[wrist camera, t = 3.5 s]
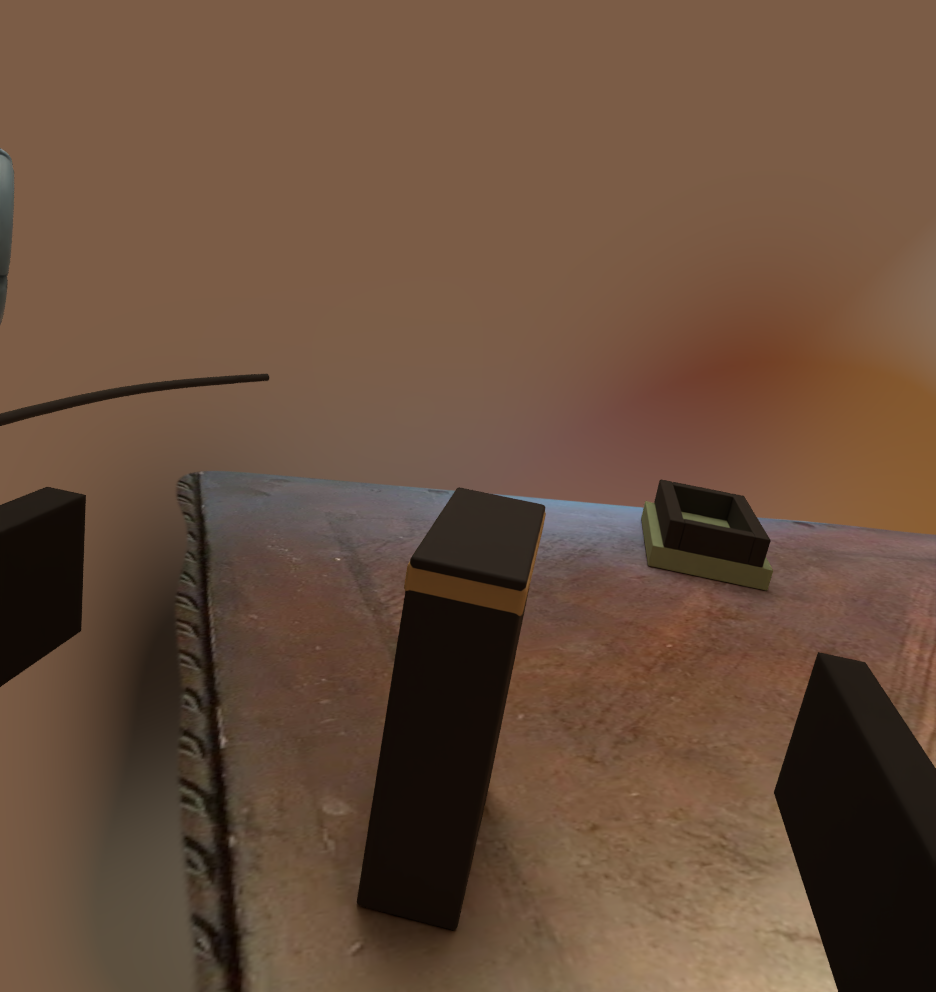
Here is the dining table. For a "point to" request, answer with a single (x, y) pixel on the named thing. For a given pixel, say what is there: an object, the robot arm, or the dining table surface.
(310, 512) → the dining table surface
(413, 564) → the dark brown banded block
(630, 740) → the dining table surface
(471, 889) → the dining table surface
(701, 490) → the black and green tray
